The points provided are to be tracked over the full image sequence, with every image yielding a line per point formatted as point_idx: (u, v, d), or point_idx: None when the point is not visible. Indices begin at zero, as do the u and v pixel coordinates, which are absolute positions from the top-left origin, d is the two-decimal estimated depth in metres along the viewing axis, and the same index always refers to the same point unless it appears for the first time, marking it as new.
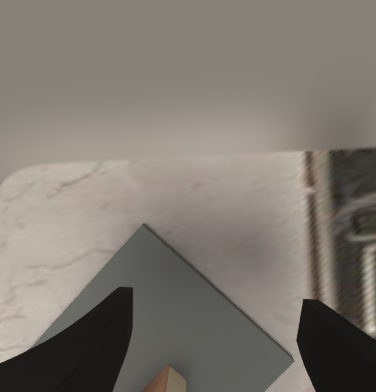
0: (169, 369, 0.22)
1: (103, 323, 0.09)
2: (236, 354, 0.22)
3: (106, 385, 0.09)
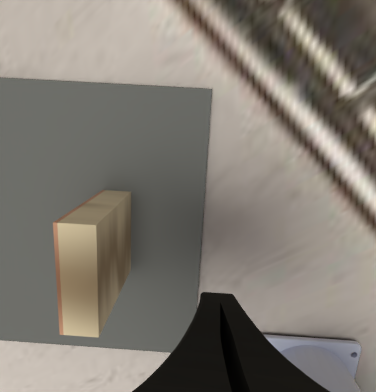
0: (103, 191, 0.19)
1: (217, 331, 0.09)
2: (152, 129, 0.19)
3: None
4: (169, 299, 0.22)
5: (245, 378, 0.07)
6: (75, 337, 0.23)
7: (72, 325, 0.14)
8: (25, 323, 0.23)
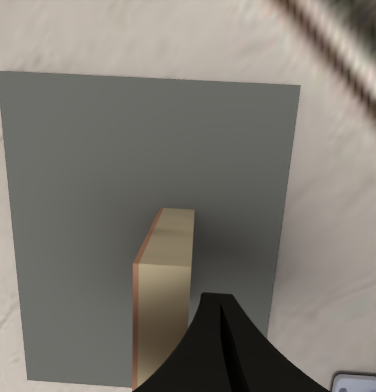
0: (162, 210, 0.16)
1: (217, 331, 0.09)
2: (225, 134, 0.15)
3: None
4: None
5: (245, 378, 0.07)
6: (120, 377, 0.19)
7: None
8: (62, 362, 0.19)
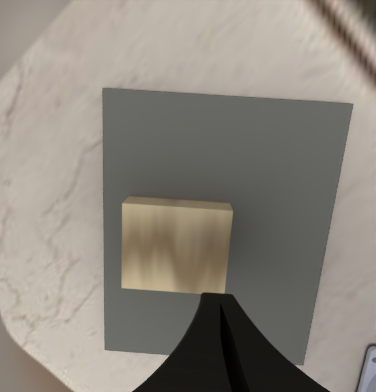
0: (224, 203, 0.20)
1: (217, 331, 0.09)
2: (288, 143, 0.19)
3: None
4: (285, 311, 0.22)
5: (245, 378, 0.07)
6: None
7: None
8: (136, 334, 0.23)
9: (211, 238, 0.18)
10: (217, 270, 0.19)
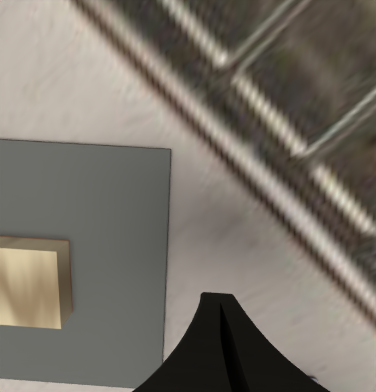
0: (62, 241, 0.21)
1: (217, 331, 0.09)
2: (115, 185, 0.20)
3: None
4: (136, 340, 0.23)
5: (245, 378, 0.07)
6: (48, 374, 0.24)
7: None
8: (0, 361, 0.24)
9: (40, 276, 0.20)
10: (51, 306, 0.20)
